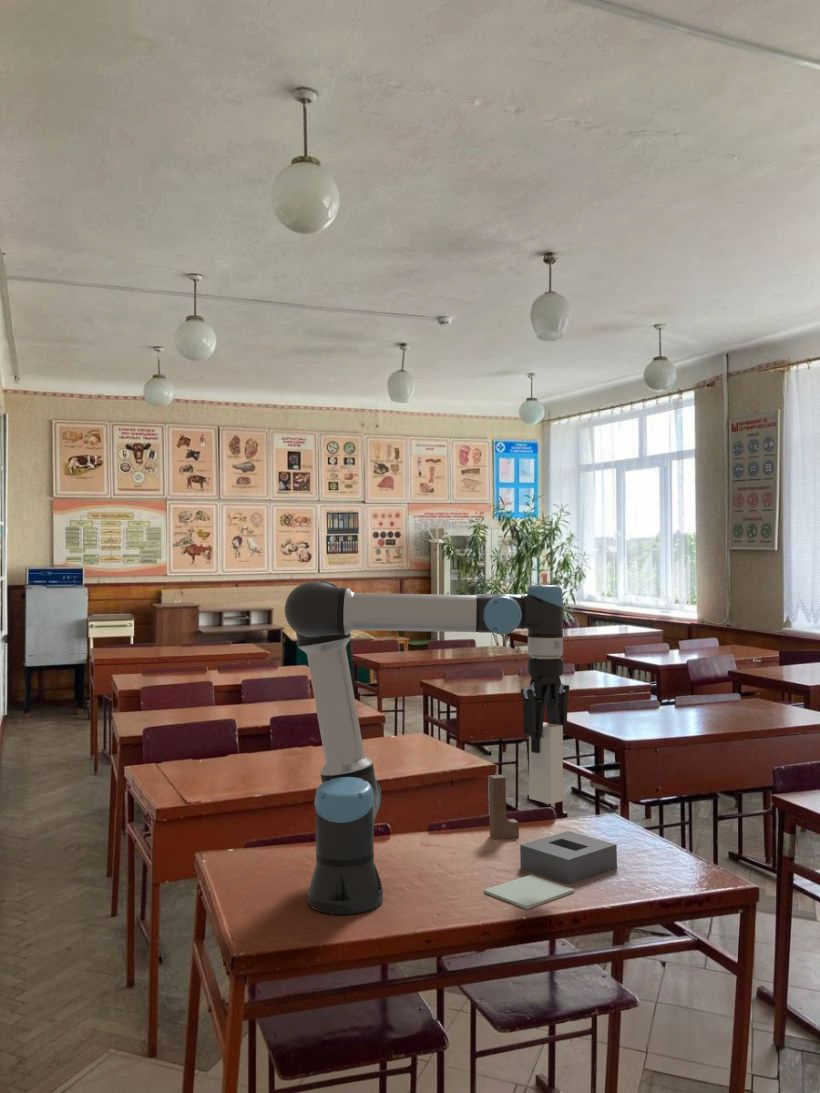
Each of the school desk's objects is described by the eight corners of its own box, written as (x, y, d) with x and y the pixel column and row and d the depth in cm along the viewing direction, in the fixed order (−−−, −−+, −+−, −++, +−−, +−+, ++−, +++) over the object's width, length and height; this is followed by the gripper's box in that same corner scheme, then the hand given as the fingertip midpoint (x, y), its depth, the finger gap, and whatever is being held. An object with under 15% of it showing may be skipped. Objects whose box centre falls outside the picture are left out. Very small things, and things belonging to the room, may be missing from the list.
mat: (526, 909, 175) (526, 906, 175) (483, 892, 184) (483, 889, 184) (574, 892, 183) (574, 889, 183) (531, 877, 193) (531, 874, 193)
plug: (550, 804, 189) (550, 727, 189) (529, 798, 193) (529, 723, 194) (562, 800, 191) (562, 725, 192) (541, 795, 196) (541, 721, 196)
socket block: (569, 883, 188) (568, 859, 189) (520, 867, 199) (520, 844, 199) (617, 867, 199) (616, 844, 199) (568, 852, 209) (568, 830, 210)
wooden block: (494, 839, 220) (493, 778, 221) (489, 836, 224) (488, 775, 224) (519, 837, 222) (518, 776, 223) (514, 833, 225) (512, 773, 226)
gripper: (532, 660, 185) (532, 775, 184) (584, 655, 196) (584, 763, 195) (505, 657, 190) (505, 769, 190) (557, 653, 201) (557, 758, 201)
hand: (545, 766), depth 192 cm, fingers closed on plug, 4 cm apart
